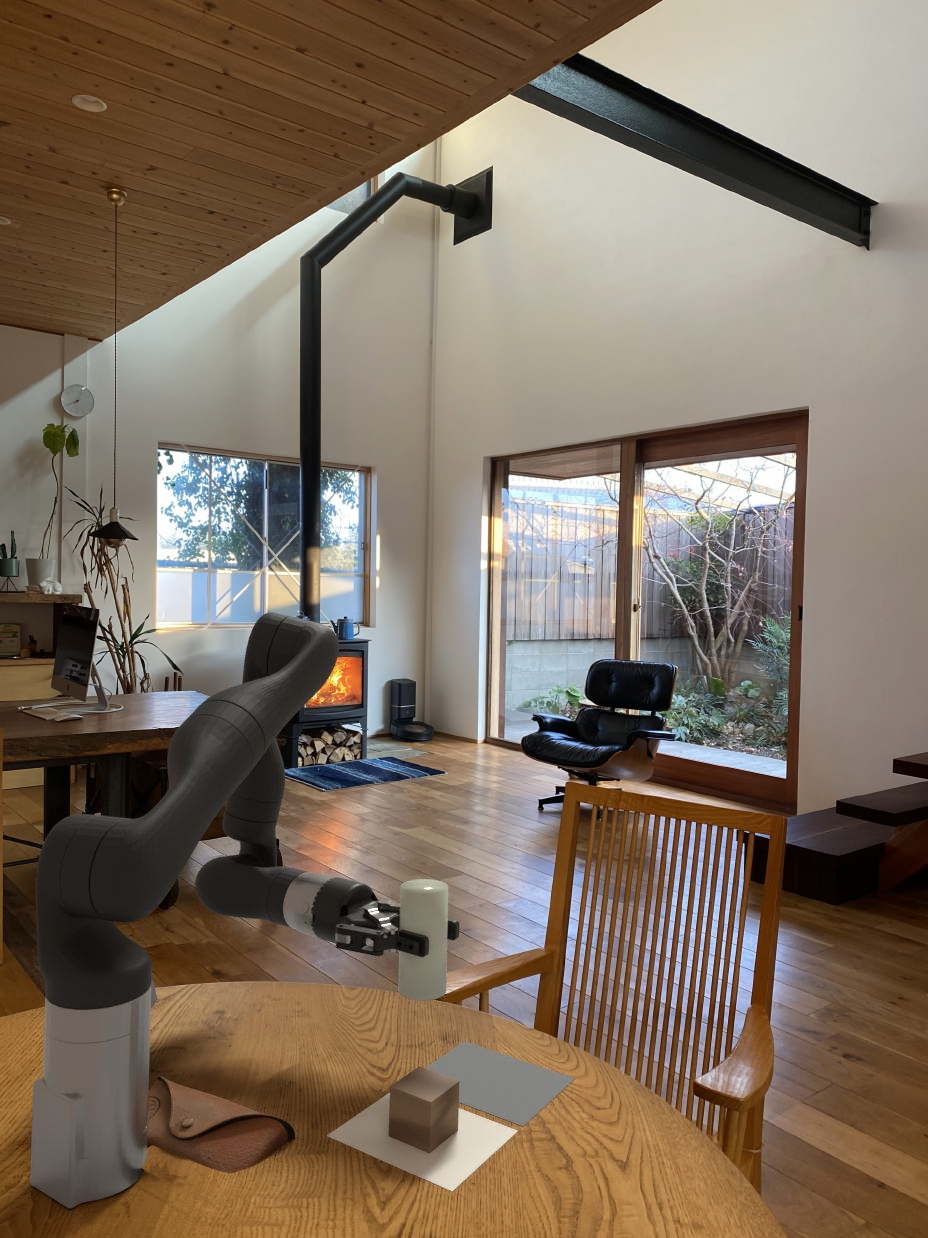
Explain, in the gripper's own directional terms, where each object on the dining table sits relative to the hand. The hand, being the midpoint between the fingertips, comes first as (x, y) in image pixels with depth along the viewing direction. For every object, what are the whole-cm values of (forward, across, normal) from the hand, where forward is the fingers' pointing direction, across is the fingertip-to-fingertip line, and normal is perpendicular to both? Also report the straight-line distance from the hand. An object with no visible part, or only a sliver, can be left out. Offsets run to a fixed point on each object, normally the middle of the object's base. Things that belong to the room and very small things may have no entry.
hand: (442, 939), depth 104 cm
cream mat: (+6, +11, -16) cm, 20 cm away
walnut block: (+6, +11, -15) cm, 19 cm away
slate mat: (+6, -2, -16) cm, 17 cm away
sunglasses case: (-12, +24, -17) cm, 32 cm away
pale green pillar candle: (-3, 0, -6) cm, 7 cm away
